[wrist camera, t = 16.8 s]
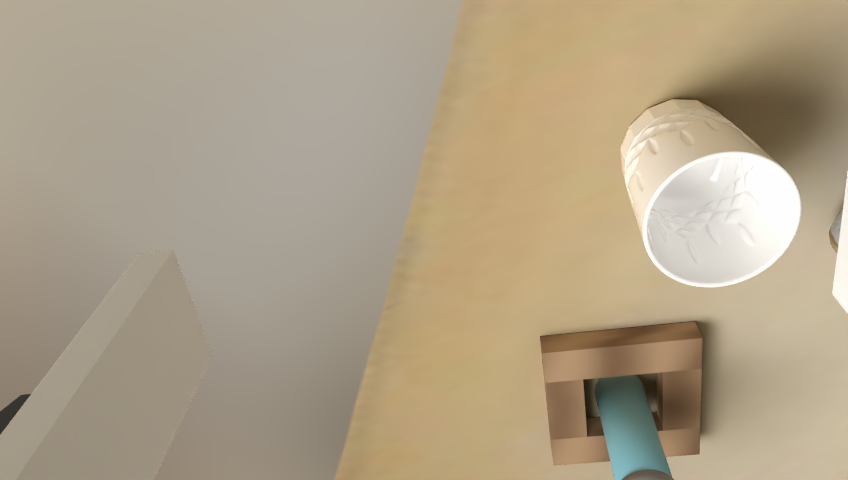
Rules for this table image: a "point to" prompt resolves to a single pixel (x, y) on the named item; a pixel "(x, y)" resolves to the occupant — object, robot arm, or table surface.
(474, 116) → the table surface
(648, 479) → the banded teal cylinder
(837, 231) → the ceramic mug
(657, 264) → the white cup
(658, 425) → the square hole plate
